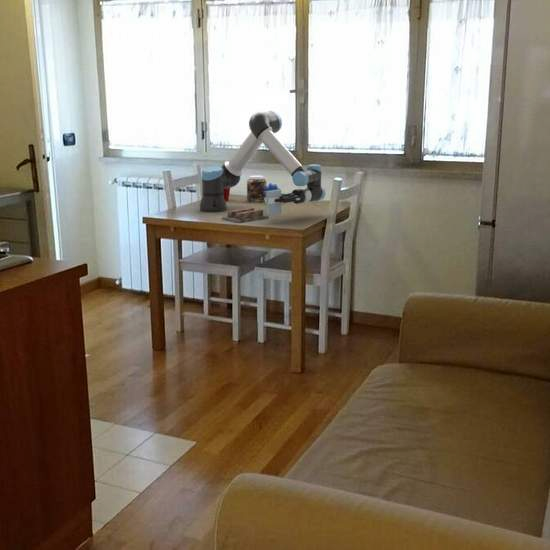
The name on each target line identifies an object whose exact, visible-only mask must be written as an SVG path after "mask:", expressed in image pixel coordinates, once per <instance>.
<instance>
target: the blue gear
mask: <svg viewBox="0 0 550 550" xmlns="http://www.w3.org/2000/svg"><path fill="white" fill-rule="evenodd" d="M265 190H266V191H272V190H281V188H279V187H278V184H275V183H271V182H269V183H268V185H266V186H265ZM266 191H264V195H265V196H266Z"/></svg>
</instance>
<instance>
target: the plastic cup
mask: <svg viewBox="0 0 550 550" xmlns="http://www.w3.org/2000/svg"><path fill="white" fill-rule="evenodd" d="M230 192H231V188H226V189H223V197H224V199H225V202H228V201H229V199H230Z"/></svg>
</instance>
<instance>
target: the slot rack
mask: <svg viewBox="0 0 550 550" xmlns="http://www.w3.org/2000/svg"><path fill="white" fill-rule="evenodd" d="M226 211H227V212H226V216H222V217H221V219H222V220H223V219H225V220H224V221H228V220H229V222H232V221H234V222H233V223H237V222H239V223H238V224H241V223H240V222H242V223H247V222H246V221H248V222H253V221H252V220H254V221H258V220H259V219H260V220H264V219H265V218H266V219H269V216H270V215H266V214H264V210H263V209H261V208H260V209H256V208H254V207H249V208H248V207H247V208H241V209H235V210H229V211H228V210H226Z"/></svg>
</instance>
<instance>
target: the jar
mask: <svg viewBox="0 0 550 550" xmlns="http://www.w3.org/2000/svg"><path fill="white" fill-rule="evenodd" d="M265 186H267V180H266V179H265V178H264V175H259V174H258V175H249V178H248V179H247V181H246V202H247V201H248V203H251V202H260V203H265V202H264V201H265V198H266V196H265V195H264V191H266V190H265Z"/></svg>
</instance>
